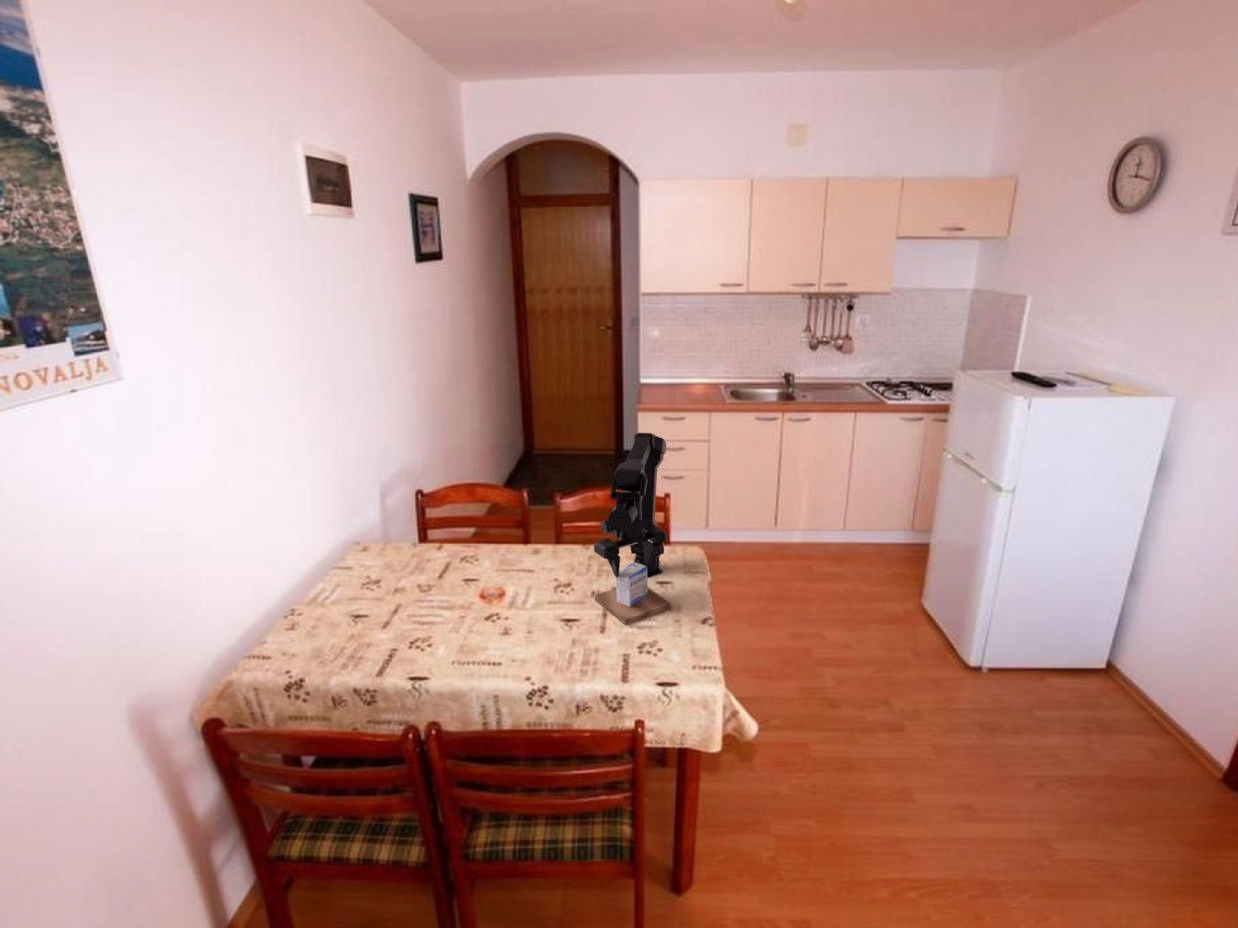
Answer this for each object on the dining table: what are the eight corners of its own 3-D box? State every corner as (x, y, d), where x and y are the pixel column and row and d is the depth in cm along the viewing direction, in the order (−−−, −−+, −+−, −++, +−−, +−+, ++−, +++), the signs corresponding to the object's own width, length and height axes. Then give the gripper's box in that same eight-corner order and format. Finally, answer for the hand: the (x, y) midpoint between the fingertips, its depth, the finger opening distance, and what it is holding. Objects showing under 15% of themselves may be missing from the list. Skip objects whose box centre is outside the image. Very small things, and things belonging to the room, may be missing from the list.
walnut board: (638, 585, 182) (638, 580, 181) (670, 608, 170) (670, 603, 169) (594, 600, 175) (594, 595, 174) (625, 625, 163) (625, 619, 162)
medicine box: (630, 608, 168) (629, 577, 165) (616, 602, 170) (615, 572, 167) (648, 595, 173) (647, 565, 171) (634, 590, 176) (634, 561, 173)
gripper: (642, 498, 176) (643, 551, 180) (582, 514, 166) (584, 569, 171) (667, 511, 167) (667, 566, 171) (605, 528, 157) (607, 586, 162)
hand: (631, 571), depth 169 cm, fingers open, 9 cm apart
